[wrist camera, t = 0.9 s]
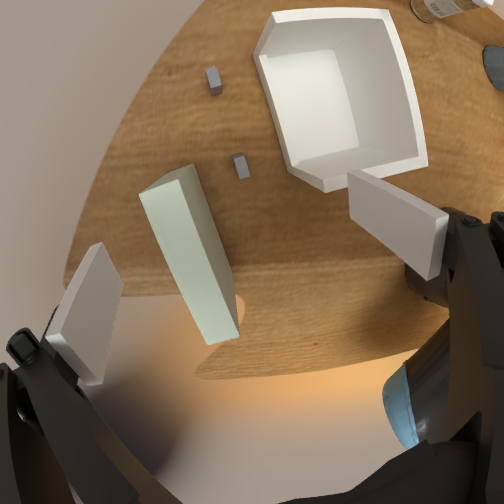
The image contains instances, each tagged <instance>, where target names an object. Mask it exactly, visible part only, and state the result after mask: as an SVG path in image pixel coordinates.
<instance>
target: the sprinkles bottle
mask: <svg viewBox="0 0 504 504" xmlns="http://www.w3.org/2000/svg"><path fill="white" fill-rule="evenodd" d="M493 2H494V1H493V0H411V3H410V4H411V8H412V10H413V12H414V13H415V15H416V16H417V17H418V18H419V19H421V20H422V21H424V22H426V23H432V22H433V21H435V20H438V19H441V18H444V17H448V16H452V15H455V14H458V13H461V12H464V11H467V10H471V9H474V8H478V7H480V8H481V7H482V8H484V7H488V6H491V5H493Z"/></svg>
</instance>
